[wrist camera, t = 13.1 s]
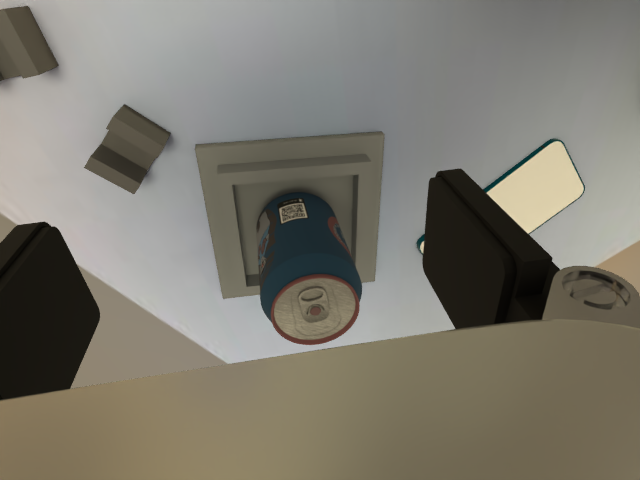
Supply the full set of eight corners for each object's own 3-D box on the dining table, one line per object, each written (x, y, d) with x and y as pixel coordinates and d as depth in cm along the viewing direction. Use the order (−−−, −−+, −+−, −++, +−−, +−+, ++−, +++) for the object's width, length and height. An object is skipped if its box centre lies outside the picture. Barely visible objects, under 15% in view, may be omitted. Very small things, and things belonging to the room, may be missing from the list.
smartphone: (553, 131, 37) (411, 241, 41) (559, 134, 37) (414, 246, 40) (581, 188, 41) (449, 284, 45) (588, 192, 41) (453, 289, 44)
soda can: (338, 244, 39) (373, 338, 28) (266, 261, 38) (274, 361, 28) (327, 177, 35) (363, 257, 25) (246, 195, 34) (248, 284, 24)
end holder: (381, 131, 34) (391, 141, 32) (372, 276, 42) (379, 292, 40) (195, 144, 32) (192, 156, 30) (223, 293, 40) (222, 311, 38)
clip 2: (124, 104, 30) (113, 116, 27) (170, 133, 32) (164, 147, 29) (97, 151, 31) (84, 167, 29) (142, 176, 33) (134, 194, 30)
